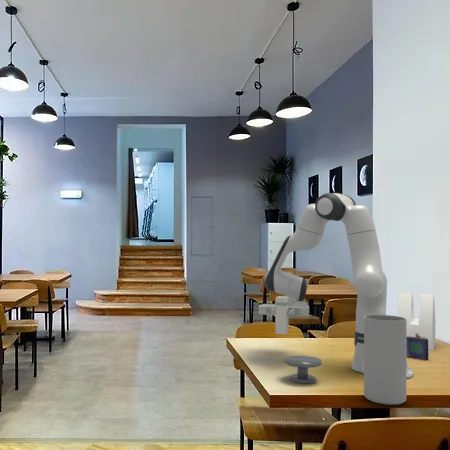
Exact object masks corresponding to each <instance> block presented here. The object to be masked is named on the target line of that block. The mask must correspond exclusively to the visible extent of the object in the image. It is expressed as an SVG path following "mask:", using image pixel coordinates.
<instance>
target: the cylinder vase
mask: <svg viewBox="0 0 450 450" xmlns="http://www.w3.org/2000/svg"><path fill="white" fill-rule="evenodd" d="M406 337H407V319H406V318H403V317H398V315H388V314H386V315H366V316H364V374H363V396H364V397H365V399H366V400H369V401H371V402H373V403H376V404H380V405H387V406H388V405H389V406H396V405H401V404H404V403H405V402H406V401H407V378H406V360H407V357H406Z"/></svg>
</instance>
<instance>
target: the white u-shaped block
mask: <svg viewBox="0 0 450 450" xmlns="http://www.w3.org/2000/svg"><path fill="white" fill-rule="evenodd" d="M398 296H399V297H398V307H397V316H398V317H403V318H406V319H407V336H413V337H416V335H415V334H416V333H419V334H418V335H420V336H421V338H423V337H425V338H427V339H428V352H433V349H434V348H435V346H436V309H435V308H436V306H435V294H429V293H428V294H427V293H420V299H419V312H418V318H415V317H416V316H415V307H414V294H413V293H412V292H399V295H398Z"/></svg>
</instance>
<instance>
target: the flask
mask: <svg viewBox="0 0 450 450" xmlns="http://www.w3.org/2000/svg"><path fill="white" fill-rule="evenodd" d="M418 334H419V333H416V334H415V335H416V337H413V336H407V337H406V358H409V359H415V360H422V361H429V357H430V355H429V351H428V339H427V338H425V337H423V338H421V336H420V335H418Z"/></svg>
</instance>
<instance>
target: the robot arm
mask: <svg viewBox="0 0 450 450" xmlns="http://www.w3.org/2000/svg"><path fill="white" fill-rule="evenodd" d="M330 221H336V222H339V221H340V222H342V223H343V225H344V227H345V232H346V238H347V242H348V247H349V248H348V249H349V252H350V260H351V271H352V277H353V278H352V279H353V285H354V288H355V291H356V292H357V295H356V309H355V331H354V336H353V337H354V338H353V339H354V340H353V341H354V342H353V343H354V346H355V347H354V353H353V359H352V363H351V367H350V368H351V369H352V370H353V371H356V372H359V373H362V374H363V375H364V316H366V315H387V295H388V294H387V293H388V279H387V276H386V274H385V273H384V271H383V270H384V269H383V266H382V265H383V264H382V258H381V257H382V256H381V252H380V251H381V250H380V246H379V240H378V236H377V230H376V227H375V222H374V219H373V217H372V213H371V211H370V210H369V208H368V207H367V206H366V205H362V204H357V203H356V201H355V200H354V199H353V198H352V197H351V196H349V195H346V194H342V193H338V192H333V193H332V192H328V193H323V194H322V195H319V197H318V198H317V199H316V200H315V203H310V204H308V205H306V207H304V209H303V211H302V214H301V215H300V218H299V222H298V223H297V224H298V225H297V228H296V230H295V231H294V232H293V234H291V235H288V236H287V237H286V238H285V239H284V241H283V243H282V244H281V246H280V248H279V250H278V252H277V255H276V256H275V259H274V260H273V263H272V265H271V267H270V269H269V270H268V272H267V273H266V275H265V276H264V280H263V285H264V287H265V288H266V290H267V292H271V293H275V294H279V295H282V296H283V297H288V302H289V305H288V311H287V312H288V313H287V315H288V320H290V319H297V318H306V317H310V305H309V304H308V303H307V301H306V300H305V296H306V294H307V290H308V284H307V281H306V280H305V278H304V277H302V276H298V275H296V274H292V273H288V272H285V271H284V270H282V267H283V266H284V263H285V261H286V258H287V257H288V255H289V254H291V253H293V252H299V251H300V252H301V251H302V252H303V251H309V250H313V249H315V248H317V247H318V246H319V244H320V243H321V240H322V238H323V235H324V231H325V228H326V226H327V223H328V222H330ZM258 314H259V315H264V316H265V315H266V316H276V305H275V303H263V304H260V305H258ZM414 375H415V374H414V369H412V367H409V365H408V361H407V359H406V379H411V378H412V377H413V376H414Z"/></svg>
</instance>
